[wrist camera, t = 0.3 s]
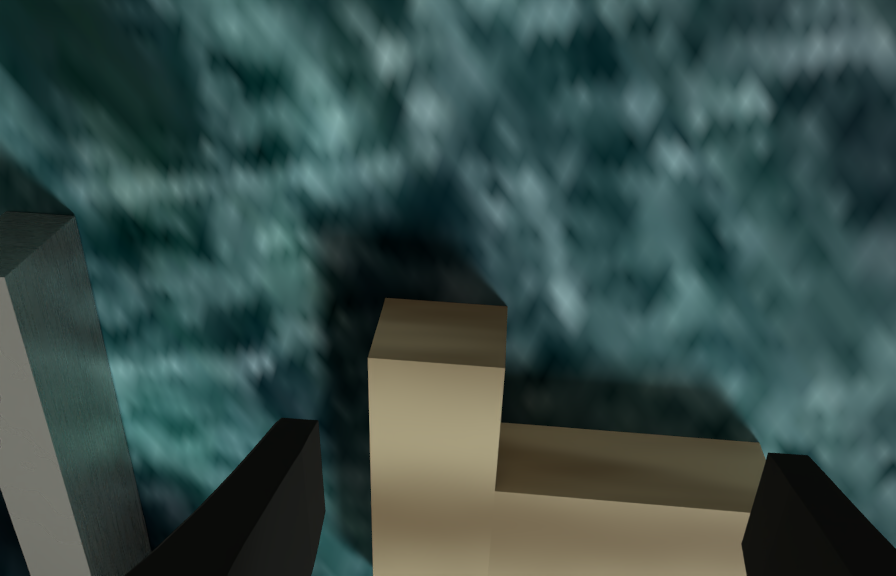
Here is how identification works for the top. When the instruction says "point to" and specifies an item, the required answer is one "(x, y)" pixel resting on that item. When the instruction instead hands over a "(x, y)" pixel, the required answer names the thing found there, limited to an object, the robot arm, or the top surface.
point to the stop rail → (61, 410)
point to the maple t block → (530, 470)
